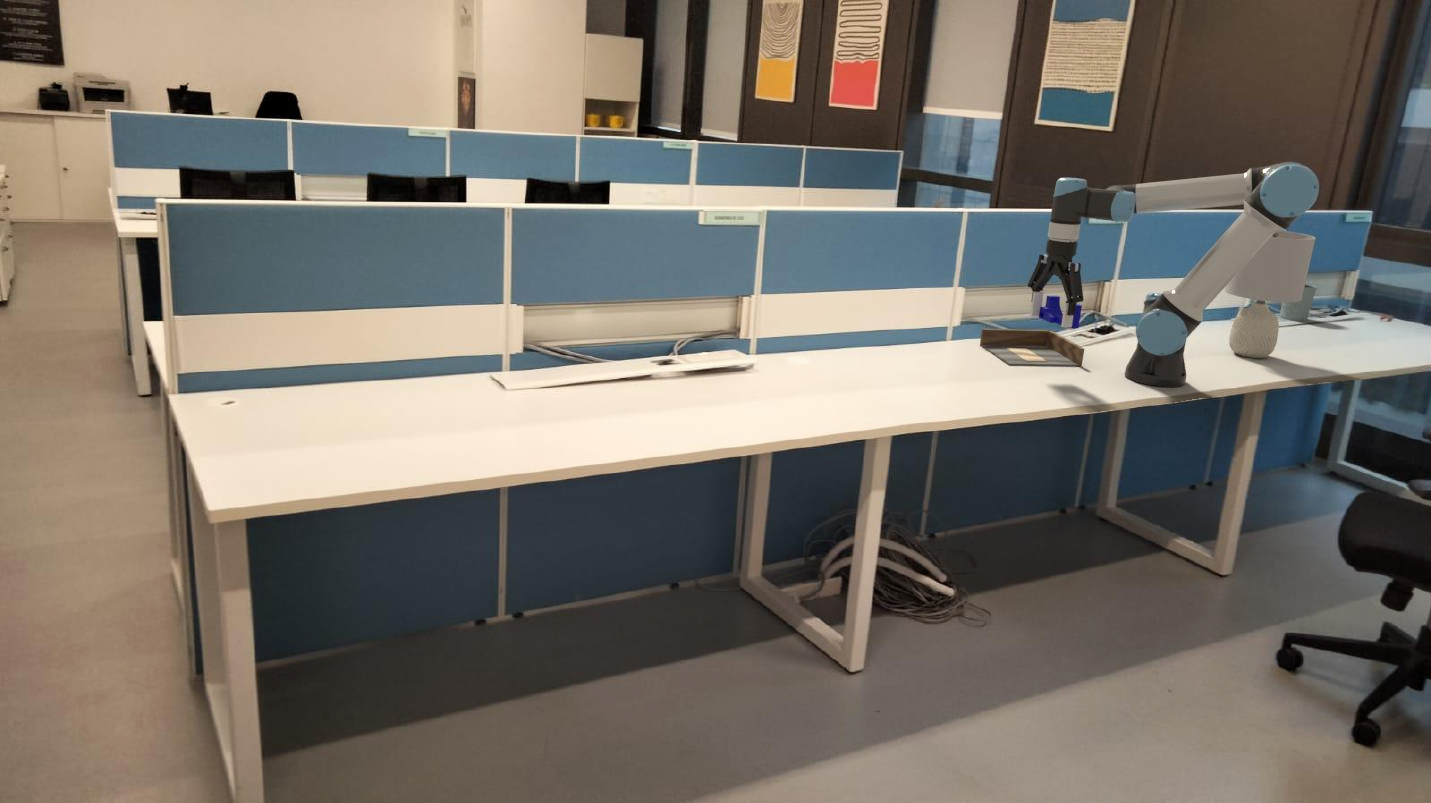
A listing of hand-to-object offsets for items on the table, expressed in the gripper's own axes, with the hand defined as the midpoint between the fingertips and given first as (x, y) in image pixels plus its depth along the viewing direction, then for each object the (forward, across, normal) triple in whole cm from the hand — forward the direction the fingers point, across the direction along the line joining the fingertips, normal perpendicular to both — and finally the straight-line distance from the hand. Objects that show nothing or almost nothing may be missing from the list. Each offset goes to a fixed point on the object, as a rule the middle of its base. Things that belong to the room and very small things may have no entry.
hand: (1050, 321), depth 274 cm
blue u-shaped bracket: (+1, 0, -2) cm, 2 cm away
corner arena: (+14, +17, -8) cm, 23 cm away
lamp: (+15, +6, -79) cm, 81 cm away
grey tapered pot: (+15, +45, -141) cm, 149 cm away
